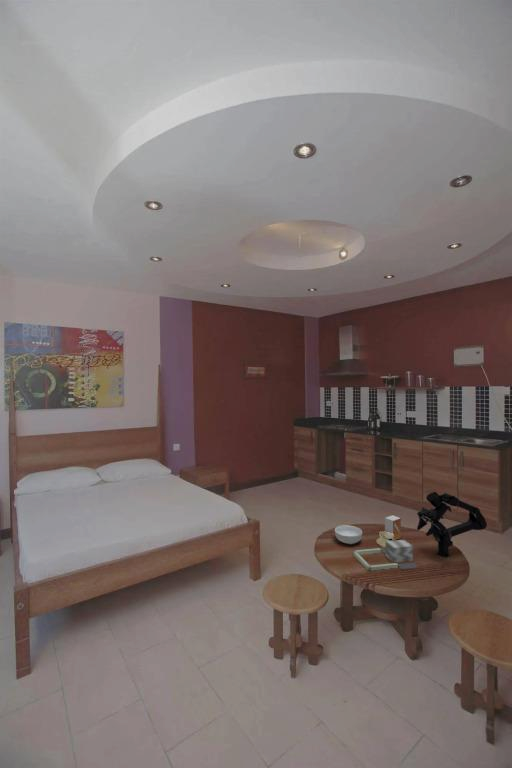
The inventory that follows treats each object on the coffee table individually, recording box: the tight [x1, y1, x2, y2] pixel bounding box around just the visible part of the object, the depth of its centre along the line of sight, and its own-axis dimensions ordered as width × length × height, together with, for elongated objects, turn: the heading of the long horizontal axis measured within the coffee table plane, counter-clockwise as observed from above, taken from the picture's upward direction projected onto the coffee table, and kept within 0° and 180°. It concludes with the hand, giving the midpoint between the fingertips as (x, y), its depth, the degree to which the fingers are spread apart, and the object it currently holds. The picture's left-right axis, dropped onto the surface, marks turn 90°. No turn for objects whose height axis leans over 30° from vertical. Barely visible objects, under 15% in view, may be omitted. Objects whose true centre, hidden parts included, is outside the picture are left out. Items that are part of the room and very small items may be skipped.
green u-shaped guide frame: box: [352, 547, 420, 572], centre depth 200 cm, size 28×23×2 cm
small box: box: [384, 514, 402, 541], centre depth 228 cm, size 8×6×13 cm
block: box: [385, 539, 414, 563], centre depth 202 cm, size 12×8×8 cm, turn 100°
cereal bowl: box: [334, 524, 363, 545], centre depth 224 cm, size 17×17×7 cm
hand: (421, 532), depth 205 cm, fingers open, 8 cm apart
